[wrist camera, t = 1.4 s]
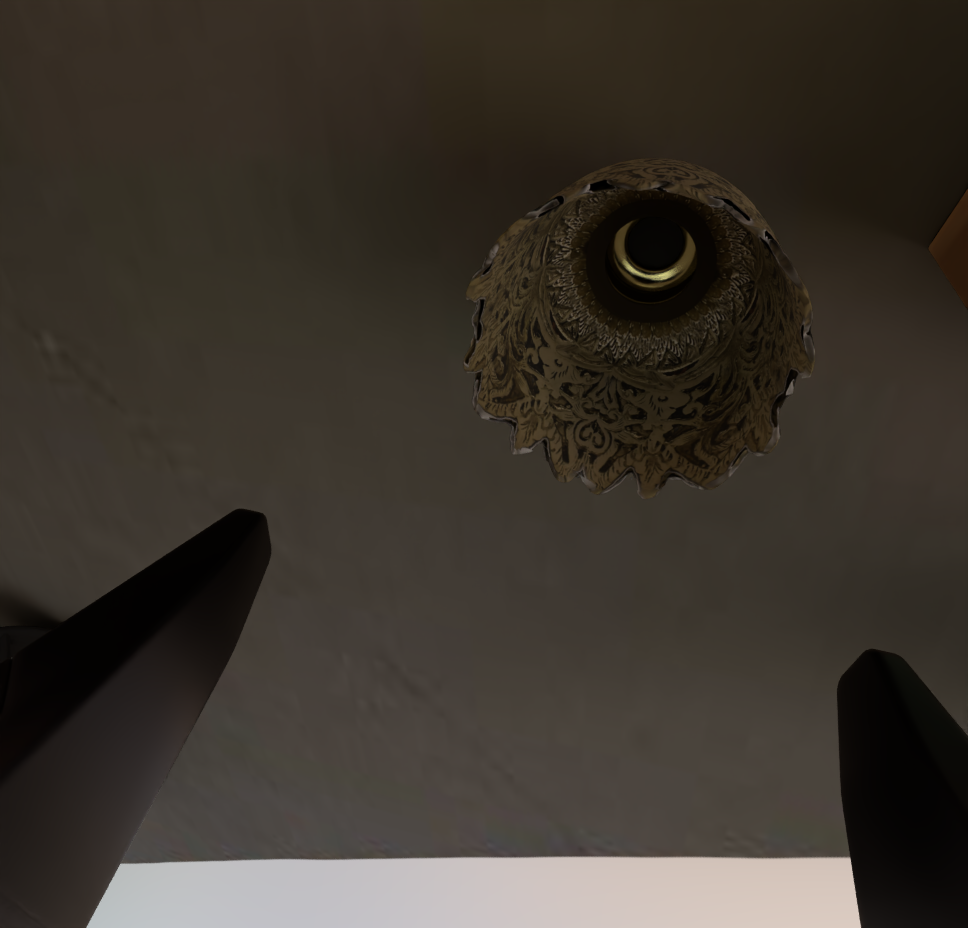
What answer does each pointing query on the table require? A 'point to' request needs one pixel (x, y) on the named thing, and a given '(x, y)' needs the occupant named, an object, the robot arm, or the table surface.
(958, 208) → the rack
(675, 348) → the ornate brown dome cover
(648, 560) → the table surface
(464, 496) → the table surface
